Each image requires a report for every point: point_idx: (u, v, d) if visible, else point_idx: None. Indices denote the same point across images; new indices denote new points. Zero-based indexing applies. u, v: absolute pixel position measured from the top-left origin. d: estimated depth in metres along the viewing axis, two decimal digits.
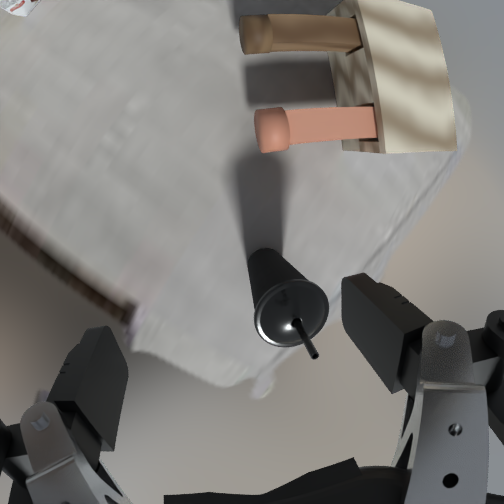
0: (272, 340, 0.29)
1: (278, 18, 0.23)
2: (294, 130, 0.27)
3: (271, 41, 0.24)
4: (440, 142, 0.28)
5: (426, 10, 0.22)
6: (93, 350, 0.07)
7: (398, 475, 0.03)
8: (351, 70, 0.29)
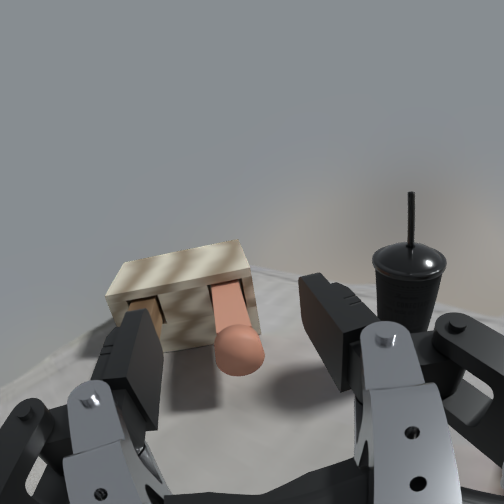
0: (441, 260, 0.24)
1: None
2: None
3: None
4: (233, 246, 0.46)
5: (124, 264, 0.46)
6: (137, 330, 0.08)
7: (361, 484, 0.03)
8: (180, 316, 0.38)
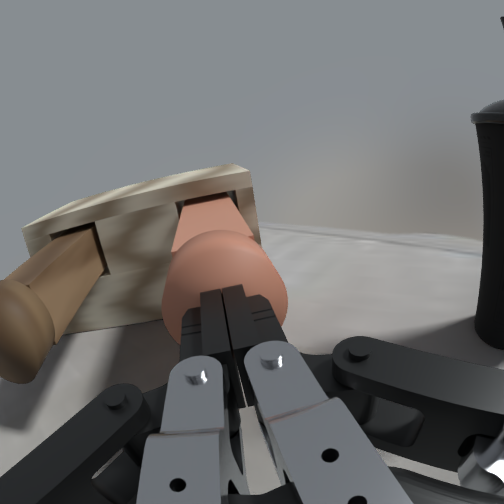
0: None
1: None
2: None
3: (26, 288, 0.11)
4: (225, 166, 0.29)
5: None
6: (222, 308, 0.09)
7: None
8: (130, 260, 0.22)
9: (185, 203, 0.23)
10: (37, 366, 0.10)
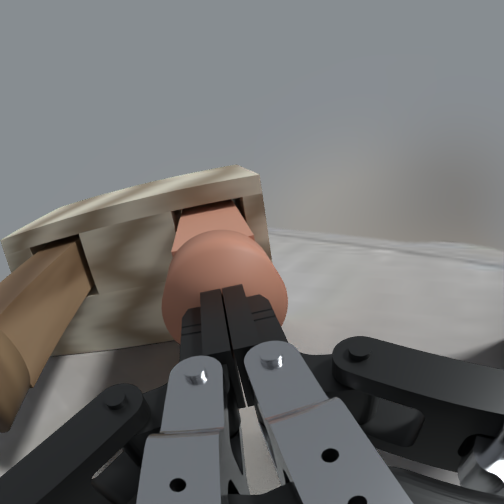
0: None
1: None
2: None
3: None
4: (228, 168, 0.26)
5: (59, 208, 0.26)
6: (222, 308, 0.09)
7: None
8: (121, 279, 0.19)
9: None
10: (10, 419, 0.07)
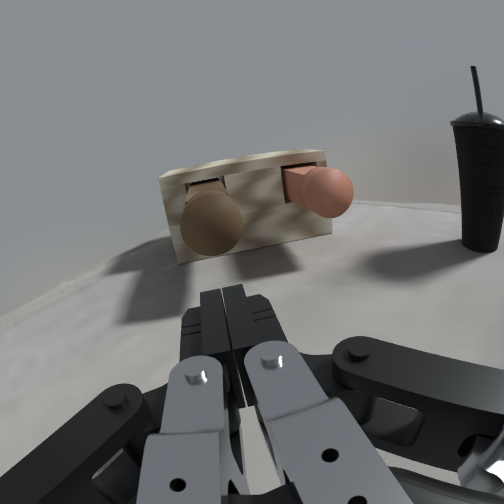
0: None
1: None
2: None
3: (226, 195, 0.23)
4: (294, 150, 0.41)
5: None
6: (222, 308, 0.09)
7: None
8: (247, 203, 0.34)
9: None
10: (240, 237, 0.22)
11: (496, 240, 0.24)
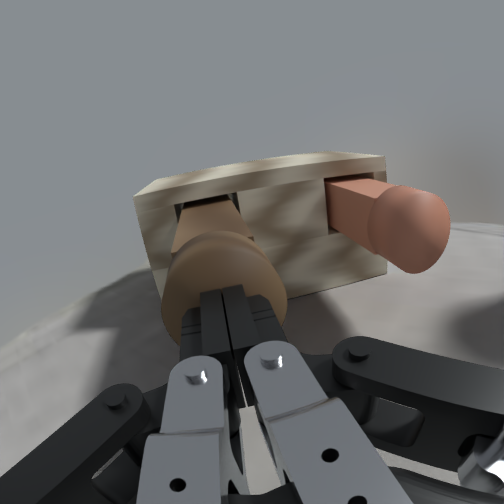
0: None
1: (185, 242, 0.13)
2: None
3: (251, 240, 0.12)
4: (329, 152, 0.30)
5: (157, 179, 0.30)
6: (222, 308, 0.09)
7: None
8: (272, 236, 0.22)
9: None
10: None
11: None
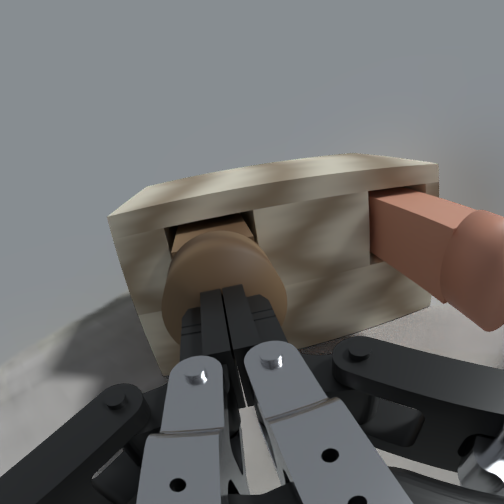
0: None
1: (185, 242, 0.13)
2: None
3: (251, 240, 0.12)
4: (360, 155, 0.24)
5: (147, 187, 0.24)
6: (222, 308, 0.09)
7: None
8: (299, 269, 0.16)
9: None
10: None
11: None
